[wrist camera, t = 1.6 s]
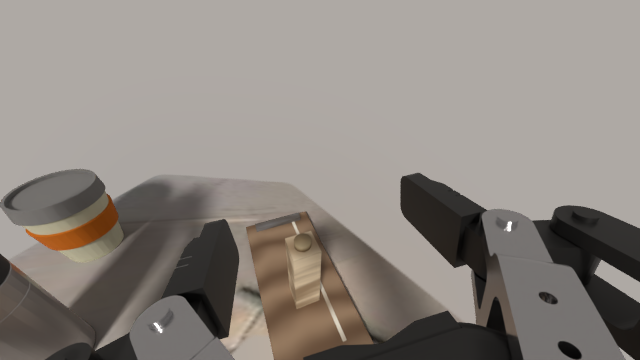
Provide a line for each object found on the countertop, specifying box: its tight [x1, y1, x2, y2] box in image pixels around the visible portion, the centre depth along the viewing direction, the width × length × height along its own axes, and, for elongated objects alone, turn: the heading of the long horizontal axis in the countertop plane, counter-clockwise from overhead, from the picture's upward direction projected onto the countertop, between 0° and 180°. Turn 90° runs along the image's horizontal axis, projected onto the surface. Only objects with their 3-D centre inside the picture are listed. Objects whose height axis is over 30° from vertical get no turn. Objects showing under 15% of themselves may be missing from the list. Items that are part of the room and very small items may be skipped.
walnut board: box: [246, 212, 374, 360], centre depth 43 cm, size 30×14×2 cm, turn 23°
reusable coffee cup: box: [0, 169, 124, 263], centre depth 45 cm, size 13×13×15 cm
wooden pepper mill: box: [285, 231, 321, 309], centre depth 36 cm, size 4×4×14 cm
